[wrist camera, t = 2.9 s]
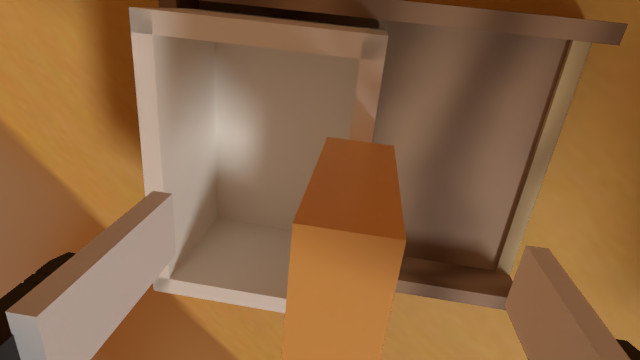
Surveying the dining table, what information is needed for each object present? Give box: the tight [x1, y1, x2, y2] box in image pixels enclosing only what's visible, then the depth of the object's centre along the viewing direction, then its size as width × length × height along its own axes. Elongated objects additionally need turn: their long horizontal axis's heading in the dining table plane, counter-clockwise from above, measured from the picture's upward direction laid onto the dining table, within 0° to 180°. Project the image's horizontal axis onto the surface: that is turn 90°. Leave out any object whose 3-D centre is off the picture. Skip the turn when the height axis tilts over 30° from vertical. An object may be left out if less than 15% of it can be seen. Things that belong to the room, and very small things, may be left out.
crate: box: [128, 7, 406, 360], centre depth 19 cm, size 12×15×16 cm
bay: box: [159, 0, 627, 310], centre depth 26 cm, size 24×18×4 cm
